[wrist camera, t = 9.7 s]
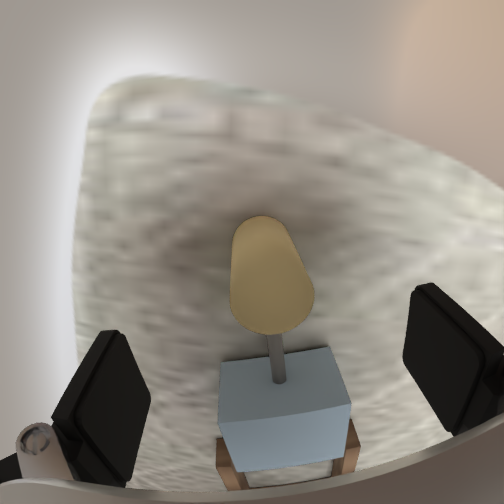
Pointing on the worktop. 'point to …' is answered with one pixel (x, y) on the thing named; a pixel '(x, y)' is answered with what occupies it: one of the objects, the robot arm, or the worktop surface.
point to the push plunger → (277, 362)
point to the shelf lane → (239, 482)
